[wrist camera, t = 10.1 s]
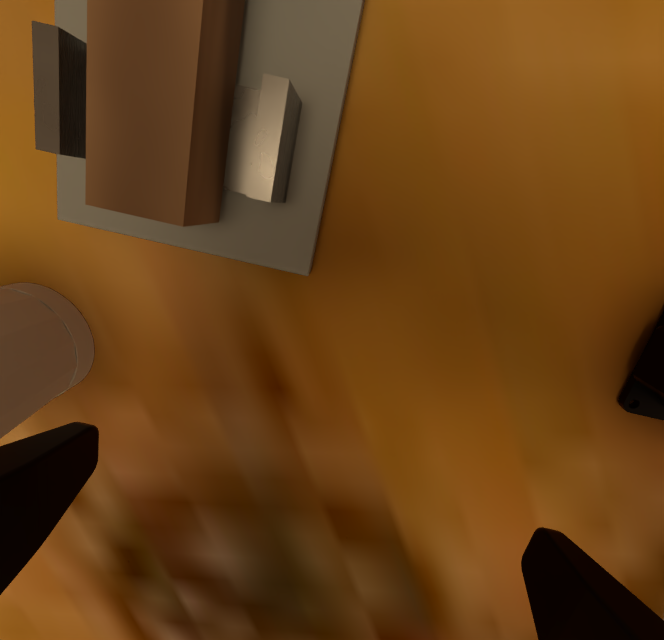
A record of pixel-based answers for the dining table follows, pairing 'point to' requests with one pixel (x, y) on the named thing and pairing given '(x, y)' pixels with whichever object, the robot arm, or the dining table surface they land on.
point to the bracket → (245, 130)
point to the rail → (160, 106)
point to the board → (310, 149)
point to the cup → (38, 350)
